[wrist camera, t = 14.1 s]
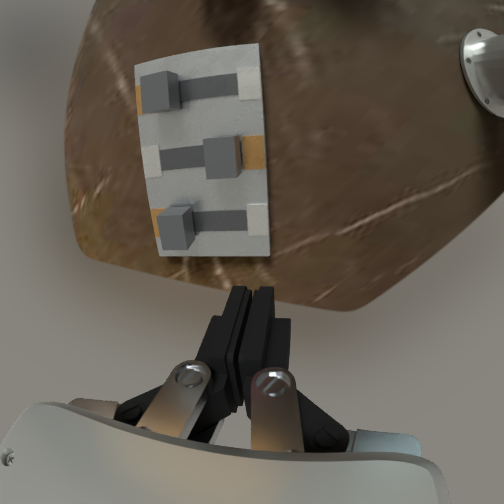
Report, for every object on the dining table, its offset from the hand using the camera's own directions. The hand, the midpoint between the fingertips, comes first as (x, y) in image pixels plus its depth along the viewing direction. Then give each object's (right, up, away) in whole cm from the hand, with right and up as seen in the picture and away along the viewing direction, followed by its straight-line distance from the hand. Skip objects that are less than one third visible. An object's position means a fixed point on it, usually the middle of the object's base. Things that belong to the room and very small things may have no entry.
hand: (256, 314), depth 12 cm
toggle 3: (-3, +13, +16) cm, 21 cm away
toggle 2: (-8, +6, +20) cm, 23 cm away
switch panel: (-6, +14, +19) cm, 24 cm away
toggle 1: (-9, +19, +14) cm, 26 cm away
